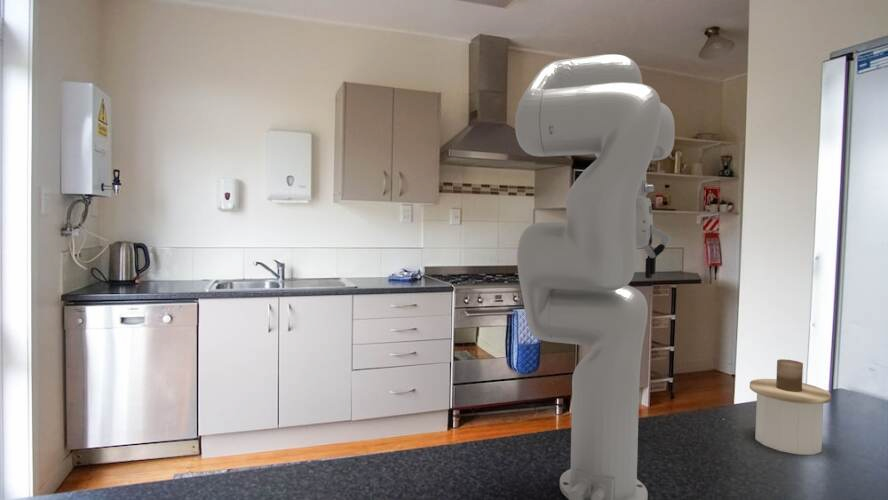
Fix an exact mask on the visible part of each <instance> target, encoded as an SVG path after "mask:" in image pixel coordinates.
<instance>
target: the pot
mask: <svg viewBox="0 0 888 500" xmlns="http://www.w3.org/2000/svg"><path fill="white" fill-rule="evenodd" d="M755 407H756V411H755V435H754V438H755V440H756V441H757V442H759V443H760V444H761V445H762V446H765V447H767V448H771V449H772V450H776V451H778V452H784V453H789V454H794V455H806V456H807V455H809V456H813V455H816V454H820V453H822V447H823V446H822V444H823V420H824V404H801V403H792V402H786V401H781V400H776V399H772V398H769V397H765V396H762V395H760V394H757V393H756V406H755Z"/></svg>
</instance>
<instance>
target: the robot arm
mask: <svg viewBox="0 0 888 500" xmlns="http://www.w3.org/2000/svg"><path fill="white" fill-rule="evenodd" d="M642 76H643V75H642V72H641V70H640V67H639V66H638V64H637V63H636V61H634V60H633V59H632V58H630V57H628V56H626V55H623V54H618V53H617V54H615V53H612V54H611V53H610V54H607V53H606V54H598V55H590V56H582V57H574V58H565V59H560V60H559V59H557V60H554V61H551V62H549V63H547V64H546V65H545V66H542V68H541V69H540V70H539V71H538V73H536V75H535V76H534V77H533V79H532V81H531V82H530V84H529V85H528V86H527V89H526V90H525V91H524V93H523V94H522V96H521V99H520V100H519V102H518V106H517V109H516V112H515V119H514V120H515V121H514V131H515V136H516V140H517V142H518V145H519V146H520V148H521V149H522V150H523V151H524V152H525V153H527V154H528V155H530V156H533V157H559V156H562V157H563V156H582V155H583V156H584V155H595V157H596V159H595V160H594V161H593V162H591V164H590V165H589V166H588V167H586V168H585V169H584V170H583V171H582V173H581V174H580V175H579V176H578V177H577V178H576V180H575V181H574V182H573V183H572V185H571V187H570V188H569V190H568V191H567V194H566V196H565V210H566V220H567V221H541V222H536V223H533V224H530V225H528V226H527V227H526V228H525V229H524V230H523V232H522V234H521V236H520V238H519V240H518V245H517V246H518V247H517V252H516V253H517V254H516V255H517V257H516V259H517V260H516V261H517V264H516V265H517V272H518V280H519V285H520V290H521V291H520V292H521V295H522V301H523V307H524V314H525V317H526V322H527V327H528V329H529V332H530V334H532V336H533V337H535V338H536V339H538V340H540V341H544V342H551V343H559V344H560V343H561V344H568V345H569V344H571V345H578V346H579V345H580V346H584V347H589V348H591V350H590V351H589V352H588V353H587V354H586V355H585V356H584V357H583V358H582V359H581V360H580V361H579V362H578V364H577V365H576V367H575V368H574V371H573V373H572V378H571V379H572V381H571V384H572V385H571V387H572V388H571V423H570V424H571V430H570V431H571V433H570V468H569V469H567V470H566V471H564V472H563V473H562V474H561V475H560V478H559V489H560V491H561V493H562V494H563V495H564V496H565V498H567V500H648V497H649V496H648V495H649V494H648V493H649V492H648V489H647V488H646V486H645V485H644V483H642V481H640V480H639V479H638V476H637V475H638V449H639V448H638V447H639V445H638V443H639V442H638V441H639V440H638V439H639V438H638V437H639V409H640V408H639V406H640V403H639V402H640V375H641V361H642V353H643V344H644V338H645V333H646V327H647V324H648V316H649V315H648V314H649V311H648V310H649V307H648V302H647V299H646V296H645V295H644V294H643V292H641V291H640V290H639V289H638V288H636V287H633V286H631V285H630V283H631V281H632V280H633V278H634V274H635V273H636V272H635V271H636V264H637V263H636V261H637V249H641V248H642V250H643V251H644V252H645V253H646V255H647V257H646V258H645V272H644V273H645V276H644V277H645V278H646V279H651V278H653V275H655V274H656V263H657V261H656V259H657V257H658V256H659V255H660V254H661V253H663V252H664V251H665V250H666V249H667V246H668V245H669V243H670V242H671V240H672V236H671V235H670V234H669V233H666V232H664V231H662V230H660V229H658V228H656V227H654V221H653V220H654V219H653V218H654V217H653V208H652V201H651V198H649V197H647V195H648V193H650V192H652V193H653V192H654V190H655V186H654V184H649V183H648V182H647V171H648V169H649V166H650V164H651V162H652V161H659V160H664V159H667V158H668V157H669V156H670V155H671V153H672V151H673V148H674V146H675V138H676V136H675V135H676V133H675V131H676V129H675V128H676V126H675V119H674V118H675V117H674V116H673V112H672V111H671V109H670V107H668V105H666V104H665V103H663V102H661V97H660V96H659V94H658V92H657V91H656V89H654V88H653V87H652V86H650V85H646V84H644V83H643V77H642ZM654 236H655V237H657V238H659V239H660V242H659V244H658V245H657V246H656V247H655V248H654V247H653V243H654Z"/></svg>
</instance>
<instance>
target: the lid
mask: <svg viewBox="0 0 888 500" xmlns="http://www.w3.org/2000/svg"><path fill="white" fill-rule="evenodd" d="M803 368H804V363H803V362H802V361H798V360H793V359H785V358H784V359H783V358H781V359H777V360H776V378H759V379H758V378H757V379H753V380H751V381H749V389H750V390H751V391H752V392H754V393H755V394H756V395H757V394H760V395H762V396H765V397H769V398H772V399H776V400H781V401H786V402H792V403H801V404H823V405H824V404H828V403H830V402H831V400H832V394H831V392H829V391H827V390H825V389H824V388H821V387H819V386H816V385H811V384H808V383H804V382H803V372H804V369H803Z"/></svg>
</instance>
